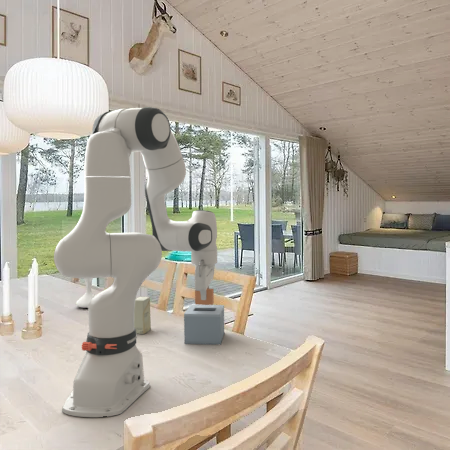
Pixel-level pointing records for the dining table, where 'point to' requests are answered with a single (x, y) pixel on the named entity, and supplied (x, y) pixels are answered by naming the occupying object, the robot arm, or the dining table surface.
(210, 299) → the token
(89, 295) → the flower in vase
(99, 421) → the dining table surface
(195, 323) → the coin box
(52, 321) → the dining table surface
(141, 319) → the skincare box
